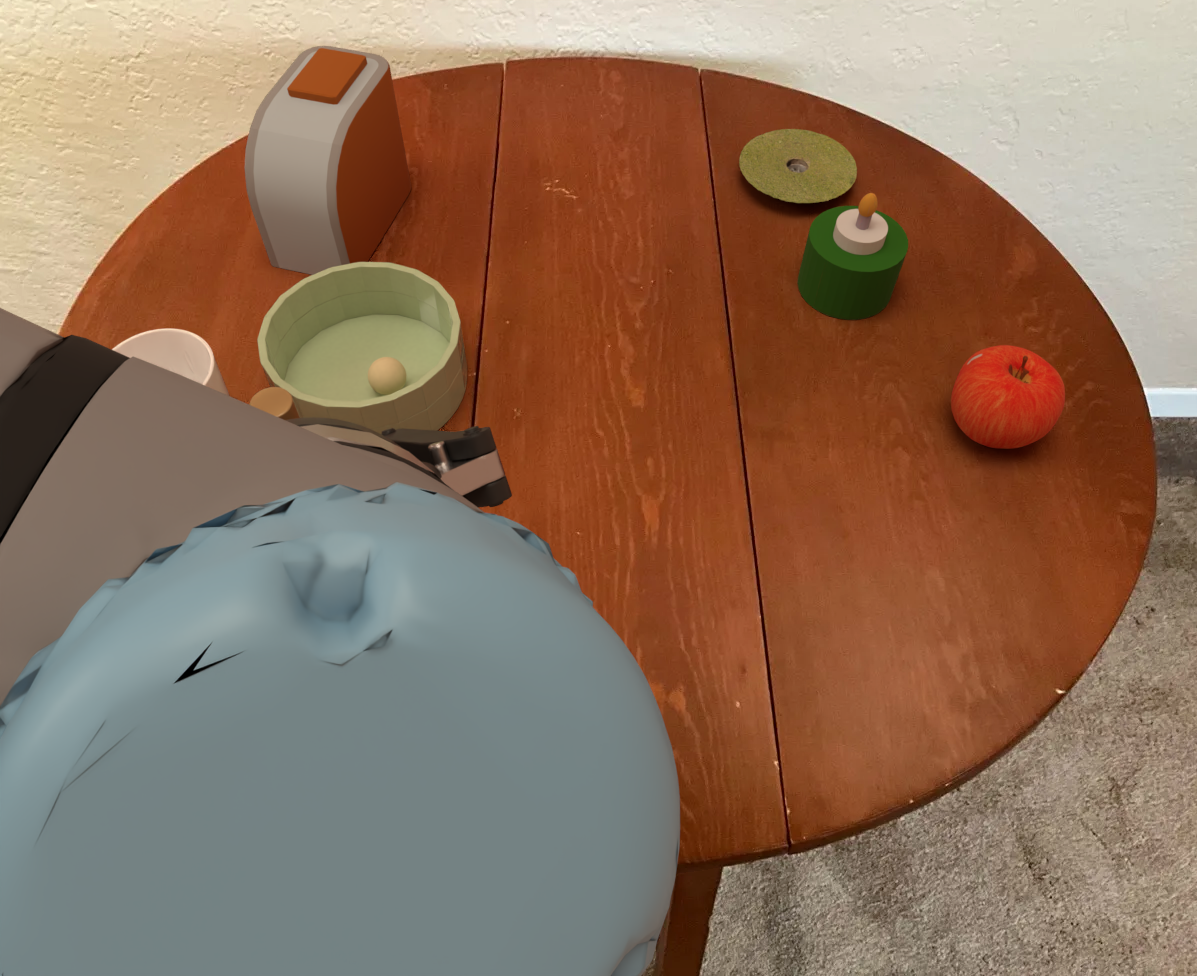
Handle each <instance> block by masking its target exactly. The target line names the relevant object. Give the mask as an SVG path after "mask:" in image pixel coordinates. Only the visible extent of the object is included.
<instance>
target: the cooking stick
mask: <svg viewBox="0 0 1197 976" xmlns="http://www.w3.org/2000/svg"><path fill="white" fill-rule="evenodd" d="M249 405H251V406H253V407H256V408H258V409H260V410H263V411H265V412H267V413H269V414H272V415H274V416H276V417H279V418H281V419H283V420H288V419H296V418H300V416H299V414H298V411H297V408H296V406H295V403H294V400H293V398H292V395H291V394H290V393H289V392H288V391H287V390H285V389H283V388H280V387H270V386H269V387H265V388H263V389H261V390H259V391H257V392H256V393H255V394H254V395H253V396H252V397H251V399H250V401H249Z"/></svg>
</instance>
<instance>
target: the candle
mask: <svg viewBox="0 0 1197 976" xmlns="http://www.w3.org/2000/svg"><path fill="white" fill-rule="evenodd" d="M878 204H879V203H878V197H877V195H876V194H875V193H873V192H870V193H869V192H868V193H867V194H865V195H864V196H863V197H862V198H861V200H860V201H859V204H858V205H841V206H835V207H832V208H829V209H826V210H824V211H822V212H821V213H819V214H818V215H817V216H816V217H815V218H814V219H813V221H812V222H811V224H810V227H809V230H808V234H807V238H806V243H805V246H804V251H803V254H802V259H801V262H800V267H799V271H798V274H797V282H796V283H797V288H798V291H799V293H800V296H801V297H802V298H803V300H804V301H805V303H807V305H808V306H810V307H812V309H814V310H816V311H818V313H821V314H823V315H825V316H827V317H831V318H835V319H839V320H847V321H854V320H855V321H857V320H862V319H863V320H864V319H867V318H871V317H874V316H876V315H877V314H879V313H881V312H883V310H884V309H885V308H887V306H888V305H889V303H890V301H891V298H892V295H893V293H894V290H895V287H896V284H897V281H898V279H899V275H900V273H901V270H902V267H903V264H904V262H905V259H906V256H907V253H908V251H909V239H908V236H907V233H906V231H905V230H904V228H903V226H901V225H900V223H899V222H898V221H897V220H895V219H894V218H893V217H891V216H889V215H888V214H886V213H884V212H882V211H879V210H877V208H878Z"/></svg>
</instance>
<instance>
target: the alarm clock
mask: <svg viewBox="0 0 1197 976" xmlns="http://www.w3.org/2000/svg"><path fill="white" fill-rule="evenodd" d="M395 93H396V92H395V88H394V81H393V76H392V72H391V66H390V64H389V62H388V60H387V59H386V58H385V57H384V56H382V55H380V54H376V53H371V52H366V51H359V50H355V49H349V48H343V47H338V46H337V47H336V46H331V45H317V46H312V47H310V48H307V49H305V50H304V51H302V52H301V53H299V54H298V55H297V57H296V58H295V59H294V60H293V62H292V63H291V64H290V65H289V66H288V68H287V69H286V70H285V72H284V73H283V74H282V75H281V77H280V78H279V79H278V80H277V81H276V83H275V84H274V85H273V86H272V88H271V89H270V90H269V92H267V94H266V95H265V96H264V98H263V99H262V100H261V102H260V104H259V105H258V107H257V109H256V110H255V112H254V113H255V114H254V116H253V120H252V122H251V124H250V127H249V130H248V135H247V141H246V145H245V155H244V156H245V157H244V177H245V188H246V193H247V197H248V201H249V205H250V210H251V212H252V215H253V218H254V220H255V223H256V226H257V229H258V231H259V235H260V237H261V241H262V243H263V245H264V249H265V252H266V255H267V257H268V260H269V263H270V265H271V266H272V267H274V268H279V269H283V270H288V271H293V272H298V273H302V274H306V275H310V276H311V275H314V274H316V273H318V272H321V271H323V270H326V269H328V268H331V267H335V266H340V265H345V264H351V263H356V262H370V260H371V258H372V256H373V254H374V252H375V250H376V249H377V247H378V246H379V244H381V243H380V242H381V241H382V239H384V236H385V235H386V233H387V231H388V229H389V228H390V226H391V225H392V223H393V222H394V219H395V218H396V217H397V215H398V213H399V212H400V210H401V209H402V207H403V205H404V203H405V201H406V200H407V198H408V197H409V195H410V193H411V190H412V182H411V176H410V172H409V171H410V170H409V167H408V166H409V165H408V160H407V159H408V158H407V154H406V148H405V143H404V138H403V132H402V126H401V120H400V116H399V110H398V104H397V98H396V94H395Z"/></svg>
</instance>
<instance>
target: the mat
mask: <svg viewBox="0 0 1197 976" xmlns="http://www.w3.org/2000/svg"><path fill="white" fill-rule="evenodd" d="M738 159H739V160H738V165H739V168H740V169H739V170H740V172H741V173H742V175H743V177H744V178H745V180H746V181H747V182H748V183H749V184H750V185H751V186H752V187H754V188H755V189H756V190H757V191H759V192H761V193H763V194H765V195H768V196H770V197H772V198H773V199H777V200H778V199H779V200H780V201H784V202H787V203H788V202H789V203H795V204H813V203H814V204H815V203H820V202H822V203H823V202H829V200H832V199H836V198H838V197H839V196H842V195H843V194H845V193H846V192H848V191H849V190H850V189H851V188H852V187H853V185H854V184H855V182H856V179H857V176H858V175H857V174H858V167H857V162H856V159H855V158H854V156H853V155H852V153H851V152H850V151H849V150H848V149H847V148H846V147H845V146H844V145H843V144H842V143H840V142H839V141H837V140H836V139H834V138H832V137H830V136H828V135H826V134H822V133H819V132H816V131H813V130H808V129H801V128H785V129H784V128H782V129H775V130H772V131H771V130H770V131H767V132H765V133H762V134H760V135H757V136H755V137H754V138H752V139H750V140H749V141H748V142H747V143H746V144H745V145H744V146H743V148H742V150H741V152H740V154H739V158H738Z"/></svg>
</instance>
